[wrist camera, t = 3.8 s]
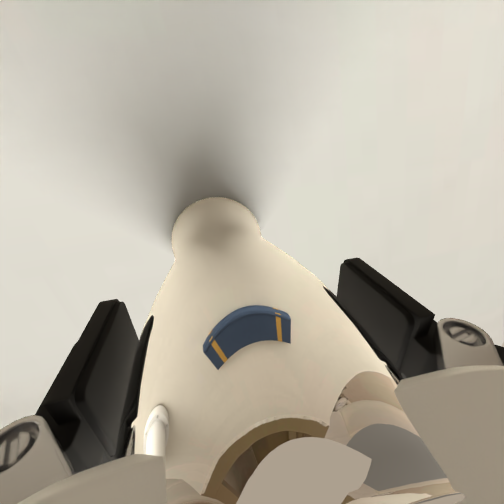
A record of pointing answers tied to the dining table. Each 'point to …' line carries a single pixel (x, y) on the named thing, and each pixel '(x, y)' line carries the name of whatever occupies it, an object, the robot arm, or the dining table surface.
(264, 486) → the beer glass
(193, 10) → the dining table surface
